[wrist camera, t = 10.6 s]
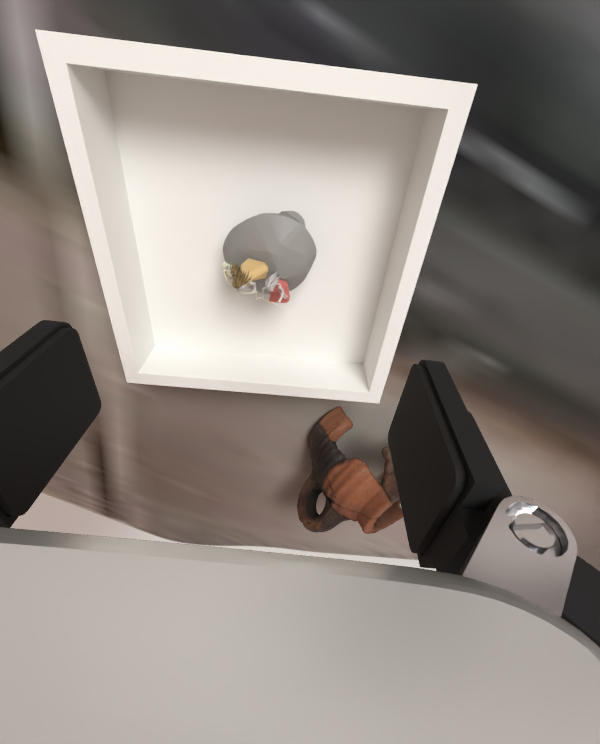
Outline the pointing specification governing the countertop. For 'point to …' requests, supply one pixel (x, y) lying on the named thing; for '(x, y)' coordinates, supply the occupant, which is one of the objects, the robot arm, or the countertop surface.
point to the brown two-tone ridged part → (345, 483)
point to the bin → (252, 206)
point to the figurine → (269, 255)
